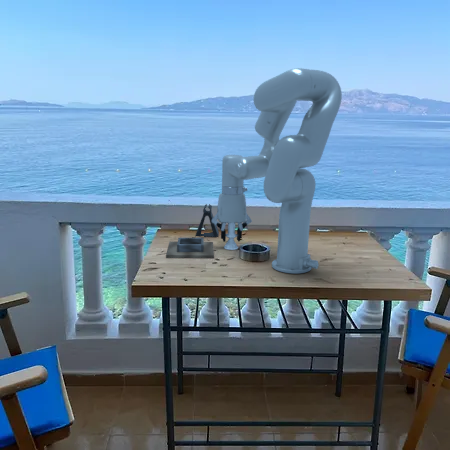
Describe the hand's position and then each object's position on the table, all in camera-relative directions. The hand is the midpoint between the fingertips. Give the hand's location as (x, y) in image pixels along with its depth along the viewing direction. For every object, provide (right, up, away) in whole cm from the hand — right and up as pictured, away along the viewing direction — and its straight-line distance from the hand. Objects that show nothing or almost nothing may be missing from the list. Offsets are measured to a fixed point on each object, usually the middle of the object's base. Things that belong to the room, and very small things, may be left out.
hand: (231, 240), depth 165 cm
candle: (0, -3, +1) cm, 3 cm away
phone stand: (-9, +1, +17) cm, 19 cm away
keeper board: (-14, -4, -4) cm, 15 cm away
